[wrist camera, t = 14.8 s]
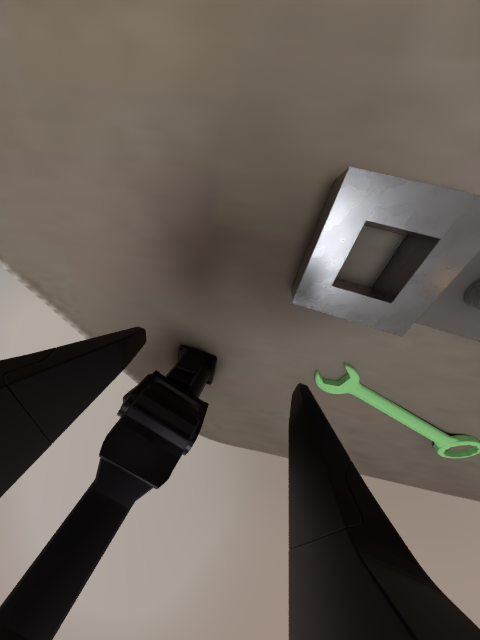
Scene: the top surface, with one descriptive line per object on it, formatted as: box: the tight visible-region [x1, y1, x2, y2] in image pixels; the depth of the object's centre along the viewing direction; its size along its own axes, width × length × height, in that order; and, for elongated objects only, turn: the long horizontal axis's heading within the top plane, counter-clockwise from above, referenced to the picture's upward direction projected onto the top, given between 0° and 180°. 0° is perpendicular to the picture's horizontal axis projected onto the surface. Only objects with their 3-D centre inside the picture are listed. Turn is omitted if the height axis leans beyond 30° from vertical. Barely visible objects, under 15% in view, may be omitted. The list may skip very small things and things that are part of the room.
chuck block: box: [291, 167, 480, 337], centre depth 15 cm, size 10×10×4 cm
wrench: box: [315, 363, 480, 458], centre depth 24 cm, size 25×2×5 cm
